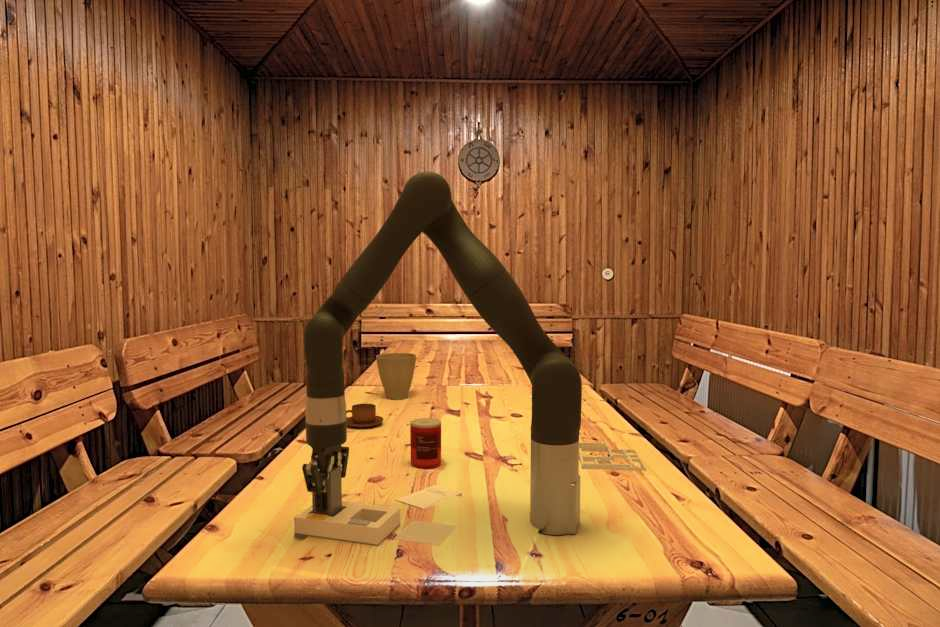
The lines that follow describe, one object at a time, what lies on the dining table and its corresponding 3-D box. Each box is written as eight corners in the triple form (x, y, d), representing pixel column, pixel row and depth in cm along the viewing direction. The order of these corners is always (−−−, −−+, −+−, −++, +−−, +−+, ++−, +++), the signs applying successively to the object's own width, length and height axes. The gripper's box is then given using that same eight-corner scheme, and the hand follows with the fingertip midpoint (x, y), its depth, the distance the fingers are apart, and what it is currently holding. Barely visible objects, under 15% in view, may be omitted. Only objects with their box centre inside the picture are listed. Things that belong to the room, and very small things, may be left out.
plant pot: (382, 393, 257) (382, 352, 256) (420, 394, 255) (420, 353, 254) (371, 401, 242) (371, 358, 241) (411, 402, 240) (411, 358, 239)
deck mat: (456, 530, 127) (456, 526, 127) (439, 549, 119) (439, 545, 119) (412, 524, 130) (412, 520, 130) (393, 543, 121) (393, 538, 121)
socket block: (400, 528, 128) (400, 506, 128) (377, 550, 118) (377, 526, 118) (322, 518, 133) (321, 497, 133) (294, 538, 124) (294, 515, 123)
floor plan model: (542, 448, 184) (542, 441, 183) (634, 451, 181) (634, 443, 181) (543, 470, 165) (543, 462, 165) (646, 472, 163) (646, 464, 163)
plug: (341, 511, 128) (341, 465, 127) (331, 519, 124) (330, 472, 124) (323, 508, 129) (322, 463, 129) (312, 516, 126) (311, 469, 125)
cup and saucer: (357, 432, 200) (357, 412, 199) (337, 425, 208) (336, 405, 208) (390, 425, 207) (390, 406, 207) (369, 418, 216) (369, 400, 216)
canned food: (427, 457, 174) (426, 416, 173) (447, 464, 168) (447, 421, 167) (404, 464, 168) (403, 421, 167) (424, 471, 163) (424, 427, 162)
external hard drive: (394, 506, 141) (434, 490, 150) (423, 516, 136) (462, 498, 145) (394, 499, 141) (434, 483, 150) (423, 508, 136) (462, 491, 145)
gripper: (324, 429, 117) (326, 523, 119) (361, 411, 131) (362, 496, 132) (287, 426, 120) (289, 518, 121) (327, 409, 133) (329, 492, 135)
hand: (327, 506), depth 127 cm, fingers closed on plug, 4 cm apart
